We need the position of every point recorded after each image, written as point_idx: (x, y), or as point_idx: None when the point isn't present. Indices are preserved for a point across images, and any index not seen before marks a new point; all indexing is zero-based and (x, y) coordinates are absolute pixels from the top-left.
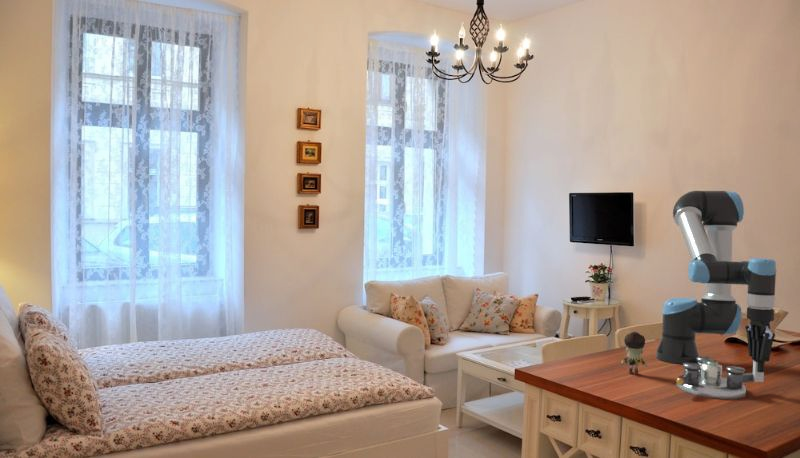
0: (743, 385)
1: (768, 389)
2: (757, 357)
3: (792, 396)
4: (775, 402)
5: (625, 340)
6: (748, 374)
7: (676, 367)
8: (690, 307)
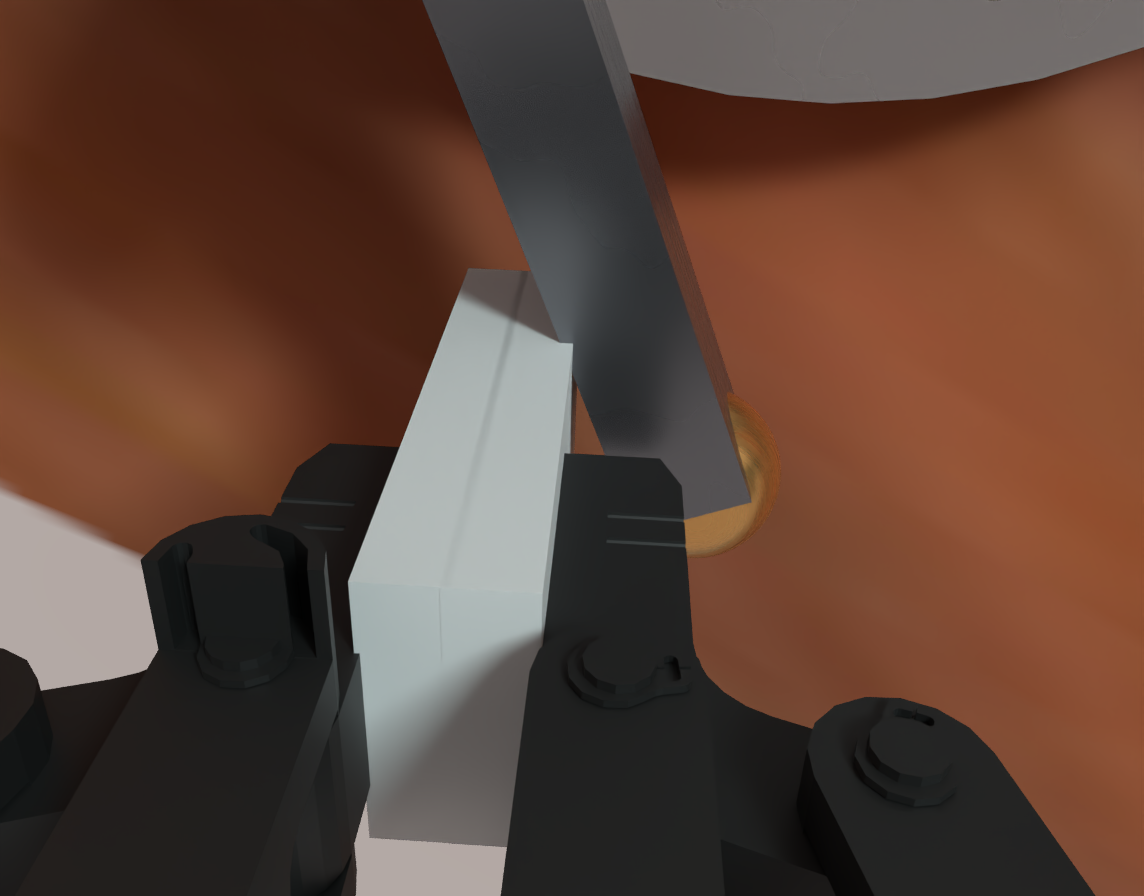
0: (667, 56)
1: (799, 588)
2: (177, 737)
3: None
4: (52, 283)
5: None
6: (528, 194)
7: None
8: None
